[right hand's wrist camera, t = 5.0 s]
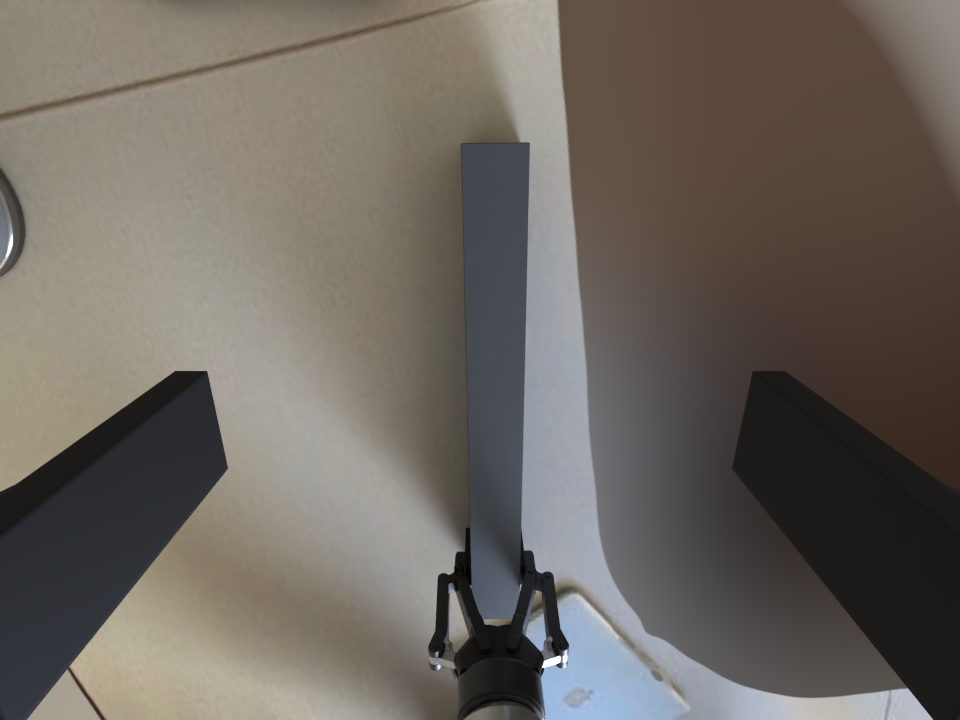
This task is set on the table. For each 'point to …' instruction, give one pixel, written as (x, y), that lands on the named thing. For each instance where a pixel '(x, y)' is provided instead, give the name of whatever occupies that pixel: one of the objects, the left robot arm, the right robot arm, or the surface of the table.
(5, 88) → the table surface
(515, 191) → the post
